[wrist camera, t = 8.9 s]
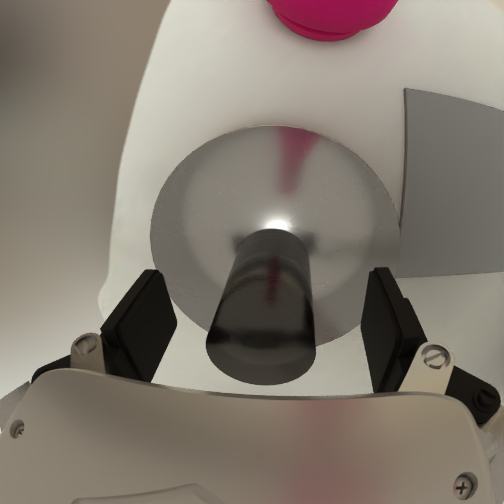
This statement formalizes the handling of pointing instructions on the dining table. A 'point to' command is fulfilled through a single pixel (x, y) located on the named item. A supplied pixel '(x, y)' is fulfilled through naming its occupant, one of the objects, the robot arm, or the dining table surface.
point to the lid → (272, 246)
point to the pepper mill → (331, 16)
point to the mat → (451, 187)
